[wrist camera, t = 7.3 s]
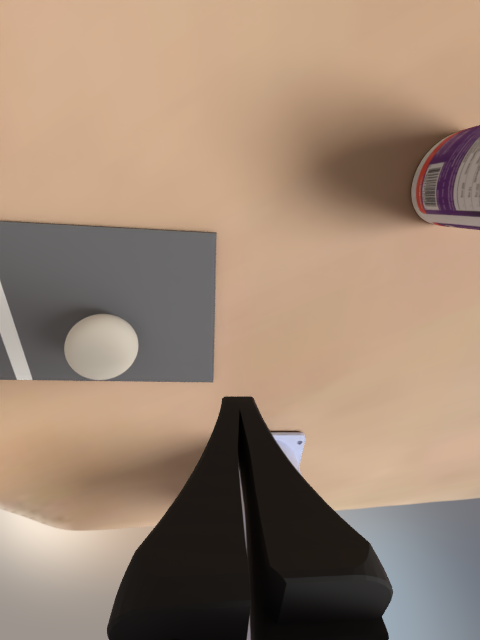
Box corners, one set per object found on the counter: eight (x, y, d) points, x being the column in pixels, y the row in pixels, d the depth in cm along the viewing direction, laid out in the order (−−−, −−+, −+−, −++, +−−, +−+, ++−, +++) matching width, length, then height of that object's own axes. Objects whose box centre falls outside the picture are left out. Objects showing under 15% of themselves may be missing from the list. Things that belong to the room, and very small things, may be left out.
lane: (213, 379, 22) (213, 382, 22) (-107, 374, 21) (-113, 378, 20) (216, 232, 17) (216, 233, 17) (-204, 209, 16) (-215, 209, 15)
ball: (148, 342, 21) (124, 395, 19) (92, 325, 20) (60, 378, 18) (148, 314, 17) (119, 375, 15) (80, 292, 17) (38, 352, 14)
